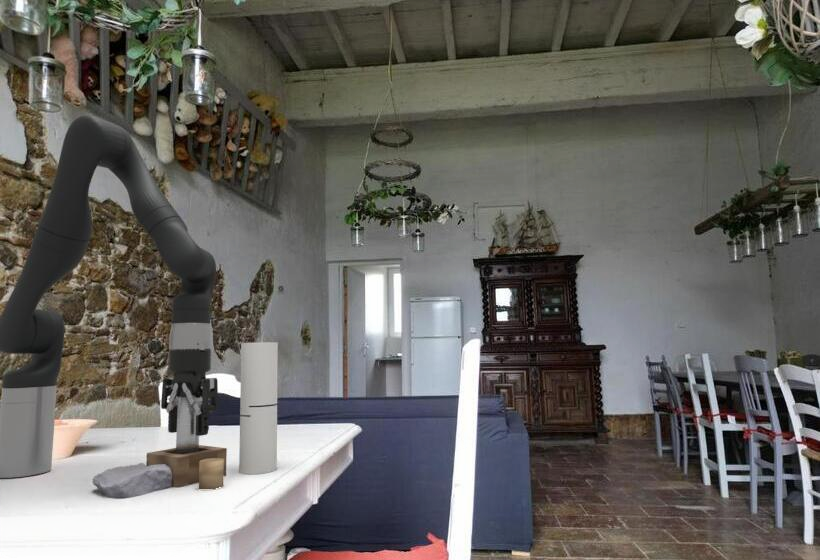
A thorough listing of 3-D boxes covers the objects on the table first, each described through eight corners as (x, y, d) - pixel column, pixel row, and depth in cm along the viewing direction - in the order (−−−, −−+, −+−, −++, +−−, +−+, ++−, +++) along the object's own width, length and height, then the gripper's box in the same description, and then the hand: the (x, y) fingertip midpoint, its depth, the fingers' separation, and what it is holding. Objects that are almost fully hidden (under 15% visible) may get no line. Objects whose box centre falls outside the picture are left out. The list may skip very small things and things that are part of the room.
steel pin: (170, 479, 98) (173, 397, 100) (189, 474, 101) (192, 395, 104) (183, 481, 96) (186, 397, 98) (202, 477, 99) (205, 395, 101)
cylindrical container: (271, 473, 100) (272, 342, 104) (233, 474, 101) (236, 343, 104) (280, 465, 108) (281, 342, 111) (246, 466, 108) (248, 343, 111)
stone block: (124, 512, 85) (179, 485, 93) (119, 483, 84) (174, 459, 93) (84, 506, 91) (139, 481, 99) (79, 478, 91) (135, 456, 99)
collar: (145, 481, 97) (146, 453, 98) (193, 470, 106) (194, 444, 106) (178, 487, 92) (179, 457, 93) (226, 475, 100) (226, 448, 101)
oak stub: (193, 488, 91) (194, 461, 92) (213, 483, 94) (214, 457, 95) (208, 491, 89) (209, 463, 90) (228, 485, 92) (228, 459, 93)
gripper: (150, 348, 103) (147, 434, 101) (196, 346, 95) (193, 439, 93) (185, 348, 109) (183, 429, 107) (230, 346, 101) (228, 433, 99)
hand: (187, 433), depth 100 cm, fingers open, 8 cm apart
